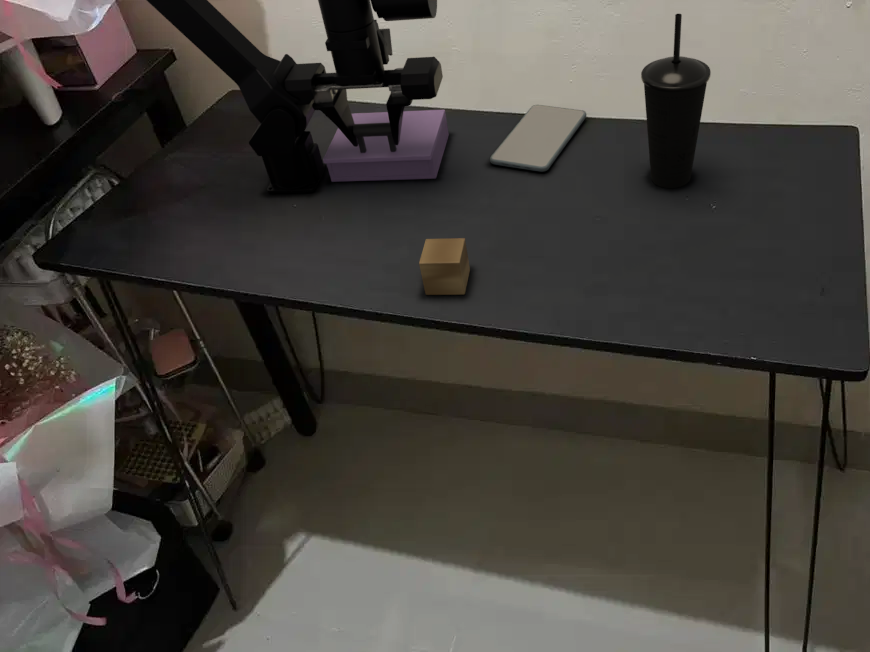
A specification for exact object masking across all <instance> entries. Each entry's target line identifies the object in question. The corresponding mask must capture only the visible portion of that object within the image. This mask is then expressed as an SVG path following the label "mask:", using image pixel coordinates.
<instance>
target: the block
mask: <svg viewBox="0 0 870 652" xmlns="http://www.w3.org/2000/svg"><path fill="white" fill-rule="evenodd" d="M418 266H419V269H420V270H419V271H420V274H421V279H422V284H423V289H424V293H425V295H426V296H450V295H451V296H453V295H454V296H458V295H460V296H462V295H463V296H464V295H466V291H467V286H468V280H469V277H470V271H471V266H470V262H469V255H468V249H467V241H466V238H465V237H460V238H458V237H457V238H451V237H450V238H426V239H425V241H424V245H423V249H422V251H421V255H420V258H419V263H418Z"/></svg>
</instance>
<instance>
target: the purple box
mask: <svg viewBox="0 0 870 652" xmlns="http://www.w3.org/2000/svg"><path fill="white" fill-rule="evenodd" d="M449 136H450V133H449V127H448V119H447V115H446V113H445V116H444V120H443V123H442V126H441V129H440V132H439V136H438V139H437V142H436V145H435V148H434V152H433V155H432V158H431V160H408V161H379V162H349V163H325V165H326V167H327V170H328V175H329V177H330V181H331V183H334V182H335V183H337V182H339V183H340V182H367V181H370V182H371V181H399V180H402V181H403V180H430V179H431V180H433V179H434V180H435V179H437V176H438V174H439V173H438V172H439V169H440V167H441V163H442V159H443V157H444V154H445V149H446V146H447V143H448V139H449Z"/></svg>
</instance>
